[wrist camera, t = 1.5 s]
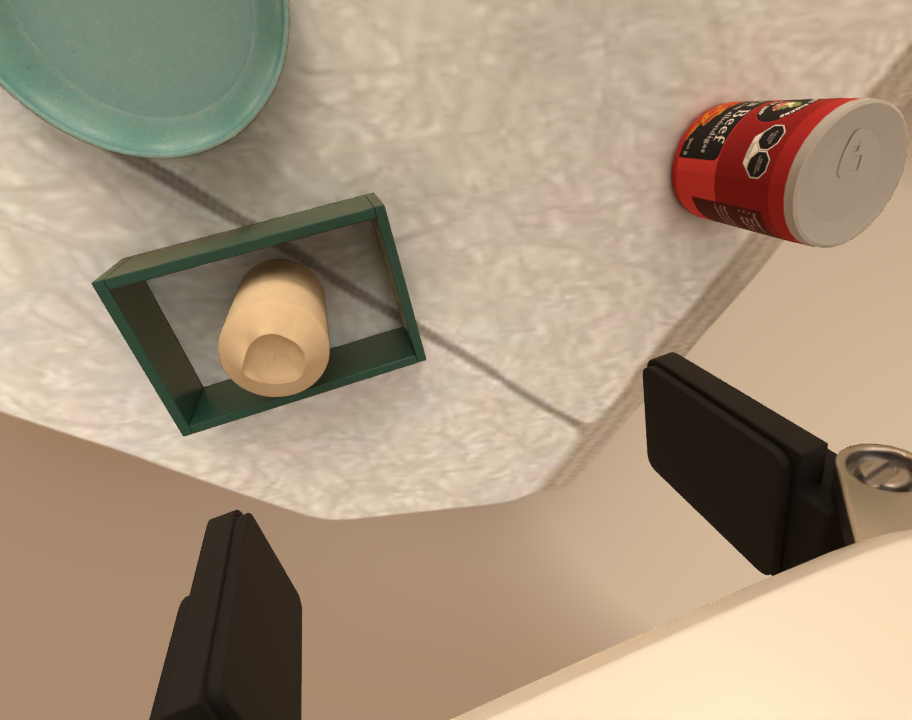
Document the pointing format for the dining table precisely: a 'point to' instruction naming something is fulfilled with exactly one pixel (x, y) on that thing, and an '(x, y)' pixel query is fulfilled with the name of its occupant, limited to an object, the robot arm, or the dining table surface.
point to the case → (138, 305)
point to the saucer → (144, 68)
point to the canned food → (793, 166)
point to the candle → (276, 331)
